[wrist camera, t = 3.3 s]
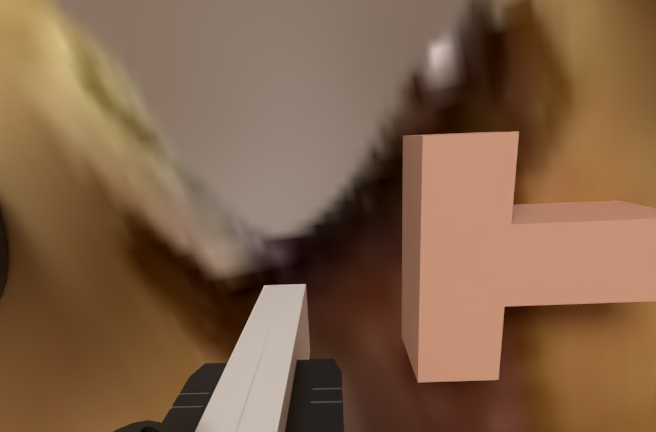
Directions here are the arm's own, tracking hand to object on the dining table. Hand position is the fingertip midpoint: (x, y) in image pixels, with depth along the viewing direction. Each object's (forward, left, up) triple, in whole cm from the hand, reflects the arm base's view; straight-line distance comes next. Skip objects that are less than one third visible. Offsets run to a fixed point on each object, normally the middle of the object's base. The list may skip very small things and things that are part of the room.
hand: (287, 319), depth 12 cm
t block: (+12, 0, -8) cm, 14 cm away
